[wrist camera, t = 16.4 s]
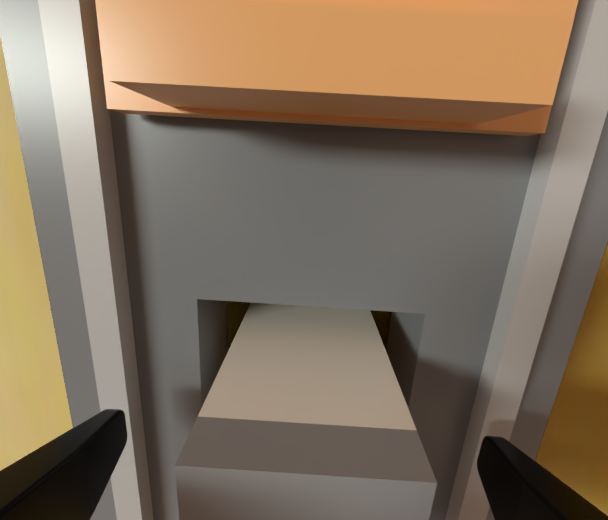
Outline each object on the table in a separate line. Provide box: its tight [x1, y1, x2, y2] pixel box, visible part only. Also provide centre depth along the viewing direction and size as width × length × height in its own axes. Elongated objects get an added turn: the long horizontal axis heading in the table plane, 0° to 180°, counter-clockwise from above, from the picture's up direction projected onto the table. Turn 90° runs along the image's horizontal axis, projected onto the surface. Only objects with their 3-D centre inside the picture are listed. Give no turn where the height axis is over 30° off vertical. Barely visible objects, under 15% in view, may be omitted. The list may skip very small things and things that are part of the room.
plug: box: [175, 303, 437, 520], centre depth 9 cm, size 4×4×7 cm
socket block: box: [0, 0, 608, 520], centre depth 9 cm, size 22×14×4 cm, turn 177°
